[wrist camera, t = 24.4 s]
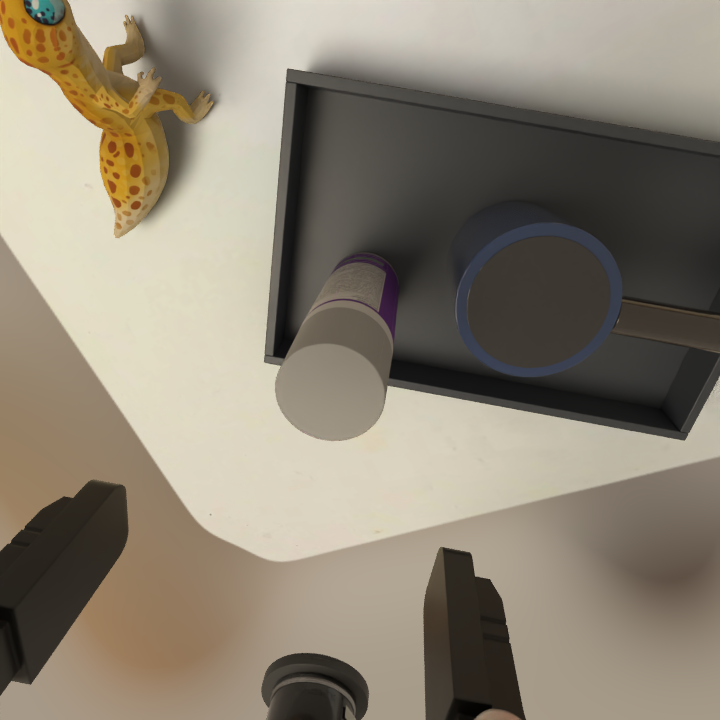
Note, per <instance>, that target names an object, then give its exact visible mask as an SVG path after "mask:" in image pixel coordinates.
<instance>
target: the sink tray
mask: <svg viewBox="0 0 720 720" xmlns="http://www.w3.org/2000/svg"><path fill="white" fill-rule="evenodd" d="M286 81H287V82H286V89H285V101H284V114H283V127H282V140H281V152H280V165H279V178H278V191H277V204H276V216H275V229H274V242H273V255H272V267H271V280H270V293H269V306H268V319H267V331H266V344H265V357H264V362H265V363H269V364H275V365H280V366H281V365H282V363H283V361H284V359H285V357H286V355H287V353H288V351H289V349H290V347H291V345H292V343H293V341H294V339H295V337H296V335H297V333H298V331H299V329H300V327H301V325H302V323H303V321H304V319H305V318H306V316H307V314H308V313H309V311H310V309H311V308H312V306H313V304H314V302H315V301H316V299H317V297H318V296H319V294H320V292H321V290H322V289H323V287H324V285H325V284H326V282H327V280H328V279H329V277H330V275H331V273H332V272H333V270H334V269H335V267H336V266H337V264H338V263H339V262H340V261H341V260H343V259H344V258H345V257H347V256H349V255H352V254H355V253H360V252H367V253H373V254H376V255H378V256H380V257H382V258H384V259H385V260H386V261H387V262H389V264H390V265H391V266H392V267H393V269H394V270H395V272H396V274H397V277H398V282H399V295H398V306H397V316H396V327H395V338H394V348H393V355H392V361H391V367H390V373H389V379H388V386H393V387H399V388H404V389H410V390H415V391H420V392H426V393H431V394H436V395H442V396H447V397H453V398H458V399H463V400H469V401H474V402H480V403H485V404H490V405H496V406H501V407H506V408H512V409H517V410H523V411H528V412H533V413H539V414H544V415H550V416H555V417H560V418H566V419H571V420H576V421H582V422H587V423H593V424H598V425H603V426H609V427H614V428H620V429H625V430H630V431H636V432H641V433H647V434H652V435H657V436H663V437H668V438H673V439H679V440H685V439H686V438H687V436H688V433H689V432H690V430H691V428H692V426H693V425H694V423H695V421H696V419H697V417H698V415H699V413H700V412H701V410H702V408H703V406H704V404H705V402H706V400H707V399H708V397H709V395H710V393H711V391H712V389H713V387H714V386H715V384H716V382H717V380H718V378H719V376H720V353H715V352H710V351H704V350H699V349H693V348H688V347H682V346H677V345H671V344H666V343H660V342H655V341H649V340H644V339H638V338H633V337H627V336H622V335H616V334H611V333H609V335H608V337H607V338H606V339H605V341H604V342H603V343H602V344H601V345H600V347H598V348H597V349H596V350H595V351H594V352H593V353H592V354H591V355H590V356H588V357H587V358H586V359H584V360H583V361H581V362H580V363H578V364H576V365H575V366H573V367H571V368H568V369H566V370H564V371H561V372H558V373H555V374H551V375H546V376H539V377H520V376H513V375H509V374H504V373H502V372H499V371H496V370H494V369H492V368H490V367H488V366H487V365H485V364H484V363H482V362H481V361H479V360H478V359H477V358H476V357H475V356H474V355H473V354H472V353H471V352H470V351H469V349H468V348H467V347H466V345H465V344H464V342H463V340H462V339H461V336H460V334H459V331H458V329H457V325H456V320H455V316H454V311H453V306H452V302H451V297H450V292H449V287H448V283H447V277H446V260H447V254H448V251H449V248H450V245H451V243H452V241H453V239H454V237H455V235H456V234H457V232H458V231H459V229H460V228H461V227H462V226H463V225H464V224H465V223H466V222H467V221H468V220H469V219H470V218H471V217H472V216H473V215H475V214H476V213H478V212H479V211H481V210H483V209H484V208H487V207H489V206H491V205H494V204H497V203H500V202H506V201H518V200H520V201H529V202H533V203H537V204H539V205H541V206H544V207H546V208H547V209H549V210H551V211H553V212H554V213H556V214H558V215H559V216H561V217H563V218H564V219H566V220H568V221H569V222H571V223H573V224H574V225H576V226H578V227H580V228H581V229H583V230H585V231H586V232H588V233H590V234H591V235H593V236H595V237H596V238H597V239H598V240H599V241H601V242H602V243H603V244H604V245H605V246H606V248H607V249H608V250H609V251H610V253H611V254H612V256H613V257H614V259H615V261H616V263H617V265H618V268H619V271H620V275H621V278H622V288H623V292H622V295H624V296H630V297H636V298H641V299H647V300H652V301H658V302H663V303H669V304H675V305H680V306H686V307H691V308H697V309H702V310H708V311H714V312H719V313H720V142H715V141H709V140H703V139H697V138H691V137H686V136H680V135H674V134H668V133H662V132H656V131H651V130H645V129H639V128H633V127H627V126H621V125H615V124H610V123H604V122H598V121H592V120H586V119H580V118H575V117H569V116H563V115H557V114H551V113H545V112H539V111H534V110H528V109H522V108H516V107H510V106H504V105H499V104H493V103H487V102H481V101H475V100H469V99H463V98H458V97H452V96H446V95H440V94H434V93H428V92H422V91H417V90H411V89H405V88H399V87H393V86H387V85H382V84H376V83H370V82H364V81H358V80H352V79H346V78H341V77H335V76H329V75H323V74H317V73H311V72H306V71H300V70H294V69H287V76H286Z"/></svg>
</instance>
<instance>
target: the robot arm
mask: <svg viewBox="0 0 720 720" xmlns="http://www.w3.org/2000/svg"><path fill="white" fill-rule="evenodd" d="M127 537H128V514H127V500H126V489H125V487H124V486H123V485H120V484H114V483H109V482H104V481H99V480H91V481H89V482H88V483H87V484H86V485H85V486H84V487H83V488H82V489H81V490H80V491H79V492H78V493H77V494H76V495H75V497H74V498H70V497H62V498H61V499H59V500H57V501H56V502H54V503H52V504H51V505H49V506H47V507H45V508H43V509H42V510H41V511H40V512H39V513H38V514H37V515H36V516H35V517H34V518H33V519H32V520H31V521H30V522H29V523H28V524H27V525H26V526H25V529H24V530H21V531H20V532H19V533H18V534H17V535H16V536H15V537H14V538H13V539H12V541H11V543H10V544H7V545H6V546H5V547H4V548H3V549H2V550H1V551H0V695H1V694H2V693H3V691H4V690H5V689H6V687H7V686H8V684H9V683H10V682H11V681H15V682H20V683H25V684H32V682H33V680H34V679H35V678H36V676H37V675H38V674H39V672H40V671H41V669H42V668H43V666H44V665H45V663H46V662H47V661H48V659H49V658H50V656H51V655H52V653H53V652H54V650H55V649H56V648H57V646H58V645H59V643H60V642H61V640H62V639H63V637H64V636H65V635H66V633H67V631H68V630H69V629H70V627H71V626H72V624H73V623H74V622H75V620H76V619H77V617H78V615H79V614H80V613H81V611H82V610H83V608H84V607H85V606H86V604H87V603H88V601H89V600H90V598H91V597H92V595H93V594H94V592H95V591H96V590H97V588H98V587H99V585H100V584H101V582H102V581H103V580H104V578H105V577H106V575H107V574H108V572H109V571H110V569H111V568H112V567H113V565H114V564H115V562H116V561H117V559H118V558H119V556H120V555H121V553H122V551H123V549H124V547H125V544H126V541H127ZM424 661H425V703H426V704H425V706H426V720H526V719H525V715H524V711H523V707H522V702H521V696H520V691H519V686H518V681H517V675H516V670H515V665H514V660H513V654H512V649H511V644H510V643H509V634H508V628H507V625H506V618H505V613H504V607H503V602H502V599H501V597H500V596H499V594H498V592H497V590H496V589H495V587H494V585H493V584H492V582H491V580H490V579H486V578H480V577H475V574H474V567H473V560H472V555H471V553H470V552H465V551H460V550H454V549H449V548H444V547H440V548H439V551H438V553H437V557H436V560H435V563H434V566H433V570H432V573H431V577H430V579H429V583H428V586H427V590H426V594H425V601H424ZM355 712H356V699H355V697H354V695H353V693H352V692H351V690H350V689H349V688H348V687H347V686H346V685H344V684H343V683H342V682H340V681H338V680H336V679H334V678H332V677H330V676H327V675H323V674H319V673H312V672H299V673H293V674H290V675H287V676H285V677H283V678H281V679H280V680H279V681H277V683H276V684H275V685H274V688H273V691H272V695H271V699H270V707H269V711H268V715H267V719H266V720H356V718H355Z"/></svg>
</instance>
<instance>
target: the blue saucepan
mask: <svg viewBox="0 0 720 720" xmlns="http://www.w3.org/2000/svg"><path fill="white" fill-rule="evenodd" d="M446 277H447V283H448V287H449V292H450V297H451V302H452V306H453V311H454V316H455V320H456V325H457V329H458V331H459V334H460V336H461V339H462V340H463V342H464V344H465V345H466V347H467V348H468V349H469V351H470V352H471V353H472V354H473V355H474V356H475V357H476V358H477V359H478V360H479V361H481V362H482V363H484V364H485V365H487V366H488V367H490V368H492V369H494V370H496V371H499V372H502V373H504V374H509V375H513V376H520V377H539V376H546V375H551V374H555V373H558V372H561V371H564V370H566V369H568V368H571V367H573V366H575V365H576V364H578V363H580V362H581V361H583V360H584V359H586V358H587V357H588V356H590V355H591V354H592V353H593V352H594V351H595V350H596V349H597V348H598V347H600V345H601V344H602V343H603V342H604V341H605V339H606V338H607V337H608V335H609V333H611V334H616V335H622V336H627V337H633V338H638V339H644V340H649V341H655V342H660V343H666V344H671V345H677V346H682V347H688V348H693V349H699V350H704V351H710V352H715V353H720V313H719V312H714V311H708V310H702V309H697V308H691V307H686V306H680V305H675V304H669V303H663V302H658V301H652V300H647V299H641V298H636V297H630V296H624V295H622V292H623V288H622V278H621V275H620V271H619V268H618V265H617V263H616V261H615V259H614V257H613V256H612V254H611V253H610V251H609V250H608V249H607V248H606V246H605V245H604V244H603V243H602V242H601V241H599V240H598V239H597V238H596V237H595V236H593V235H591V234H590V233H588V232H586V231H585V230H583V229H581V228H580V227H578V226H576V225H574V224H573V223H571V222H569V221H568V220H566V219H564V218H563V217H561V216H559V215H558V214H556V213H554V212H553V211H551V210H549V209H547V208H546V207H544V206H541V205H539V204H537V203H533V202H529V201H520V200H518V201H506V202H500V203H497V204H494V205H491V206H489V207H487V208H484V209H483V210H481V211H479V212H478V213H476V214H475V215H473V216H472V217H471V218H470V219H469V220H468V221H467V222H466V223H465V224H464V225H463V226H462V227H461V228H460V229H459V231H458V232H457V234H456V235H455V237H454V239H453V241H452V243H451V245H450V248H449V251H448V254H447V260H446Z"/></svg>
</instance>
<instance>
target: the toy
mask: <svg viewBox="0 0 720 720" xmlns="http://www.w3.org/2000/svg"><path fill="white" fill-rule="evenodd" d="M125 18H126V22H127V23H126V22H125V21H124V22H123V23H124V26H125V29H126V32H127V40H126V43H125V44H123V45H116V46H111V47H107V48H106V50H105V52H104V58H103V64H102V62H101V60H100V59H99V57H98V55H97V54H96V52H95V51H94V49H93V48H92V47H91V45H90V44H89V42H88V41H87V39H86V38H85V36H84V35H83V34H82V32H81V31H80V29H79V28H78V26H77V25H76V23H75V20H74V17H73V14H72V10H71V7H70V4H69V3H68V1H67V0H0V25H1V28H2V31H3V34H4V37H5V39H6V41H7V43H8V45H9V47H10V48H11V50H12V51H13V52H14V54H15V55H16V56H17V57H18V59H19V60H20V61H21V62H23V63H25V64H26V65H28V66H31V67H34V68H37V69H39V70H40V71H42V72H44V73H46V74H48V75H49V76H50V77H51V78H52V79H53V80H54V81H55V82H56V83H57V84H58V85H59V86H60V88H61V90H62V91H63V93H64V95H65V96H66V98H67V99H68V100H69V101H70V103H71V104H72V105H73V106H74V108H76V109H77V110H78V111H79V112H80V113H81V114H82V115H83V116H84V117H85V118H86V119H87V120H89V121H90V122H91V123H93V124H94V125H95V126H97V127H99V128H101V129H103V132H102V136H101V142H100V172H101V175H102V179H103V182H104V186H105V188H106V190H107V193H108V195H109V197H110V200H111V202H112V204H113V207H114V211H115V228H114V235H115V238H119V237H121V236H123V235H125V234H126V233H128V232H129V231H131V230H132V229H133V228H134V227H136V226H137V225H138V224H139V223H140V222H141V221H142V220H143V219H144V218H145V216H146V215H147V214H148V213H149V212H150V210H151V209H152V207H153V206H154V205H155V203H156V202H157V200H158V198H159V196H160V194H161V192H162V190H163V188H164V186H165V183H166V180H167V175H168V169H169V150H168V146H167V142H166V137H165V133H164V130H163V127H162V124H161V121H160V119H159V117H158V115H157V113H156V112H159V111H164V110H171V109H172V110H173V112H174V113H175V114H176V115H177V117H178V118H179V119H180V120H182V121H183V122H185V123H187V124H196V123H197V122H199V121H200V120H201V119H202V118H203V117H204V116H205V115H206V114H207V112H208V111H209V109H210V108H211V106H212V104H213V101H211V102H210V103H208V100H209V97H210V94H207V95H206V96H205V97H204V93H205V91H202V92H201V93H200V94H199V96H198V97H197V98H196V100H195V101H194V102H193V103H192V104H191V105H190V106H189V105H188V103H187V102H186V100H185V98H184V97H183V96H182V95H180V94H178V93H174V92H171V91H167V90H164V89H160V88H158V86H159V83H160V81H161V79H162V78H161V77H157V78H156V79H153V75H154V73H155V70H156V68H155V67H153V68H152V69H151V70H150V71H149V72H148V74H147V76H146V78H145V79H143V78H142V75H143V74H144V72H140V73H138V82H136V81H135V80H133V79H131V78H129V77H127V76H124V75H123V71H122V66H123V65H127V64H130V63H133V62H135V61H137V60H139V59H140V58H141V57H143V55H144V53H145V47H144V41H143V39H142V36H141V34H140V32H139V30H138V28H137V26H136V23H135V21H134V18H133V17H132V16H131V22H132V23H131V22H130V20H129V18H128V16H127V15H125Z"/></svg>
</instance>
